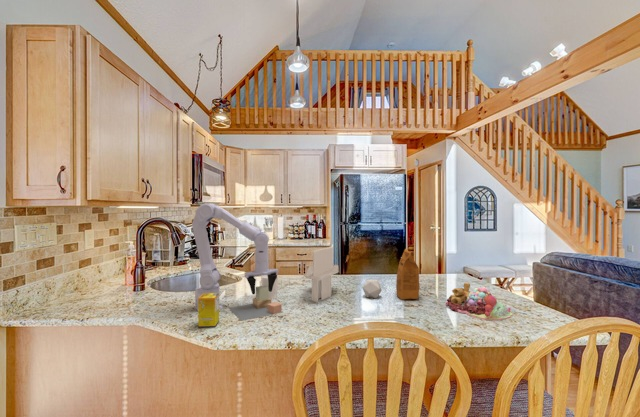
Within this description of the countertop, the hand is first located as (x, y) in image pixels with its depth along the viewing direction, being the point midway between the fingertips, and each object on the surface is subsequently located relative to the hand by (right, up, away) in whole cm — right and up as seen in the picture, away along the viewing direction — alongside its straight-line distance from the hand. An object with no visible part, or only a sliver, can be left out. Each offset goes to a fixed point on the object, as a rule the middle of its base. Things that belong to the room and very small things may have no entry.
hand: (261, 292), depth 133 cm
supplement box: (-15, -7, -20) cm, 26 cm away
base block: (0, -6, 0) cm, 6 cm away
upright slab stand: (+25, -6, +16) cm, 31 cm away
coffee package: (+66, -6, +14) cm, 68 cm away
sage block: (0, -3, 0) cm, 3 cm away
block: (+6, -6, -7) cm, 11 cm away
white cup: (+1, -6, +13) cm, 14 cm away
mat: (-2, -6, -5) cm, 8 cm away
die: (+49, -6, +14) cm, 52 cm away
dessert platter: (+91, -7, -3) cm, 91 cm away
